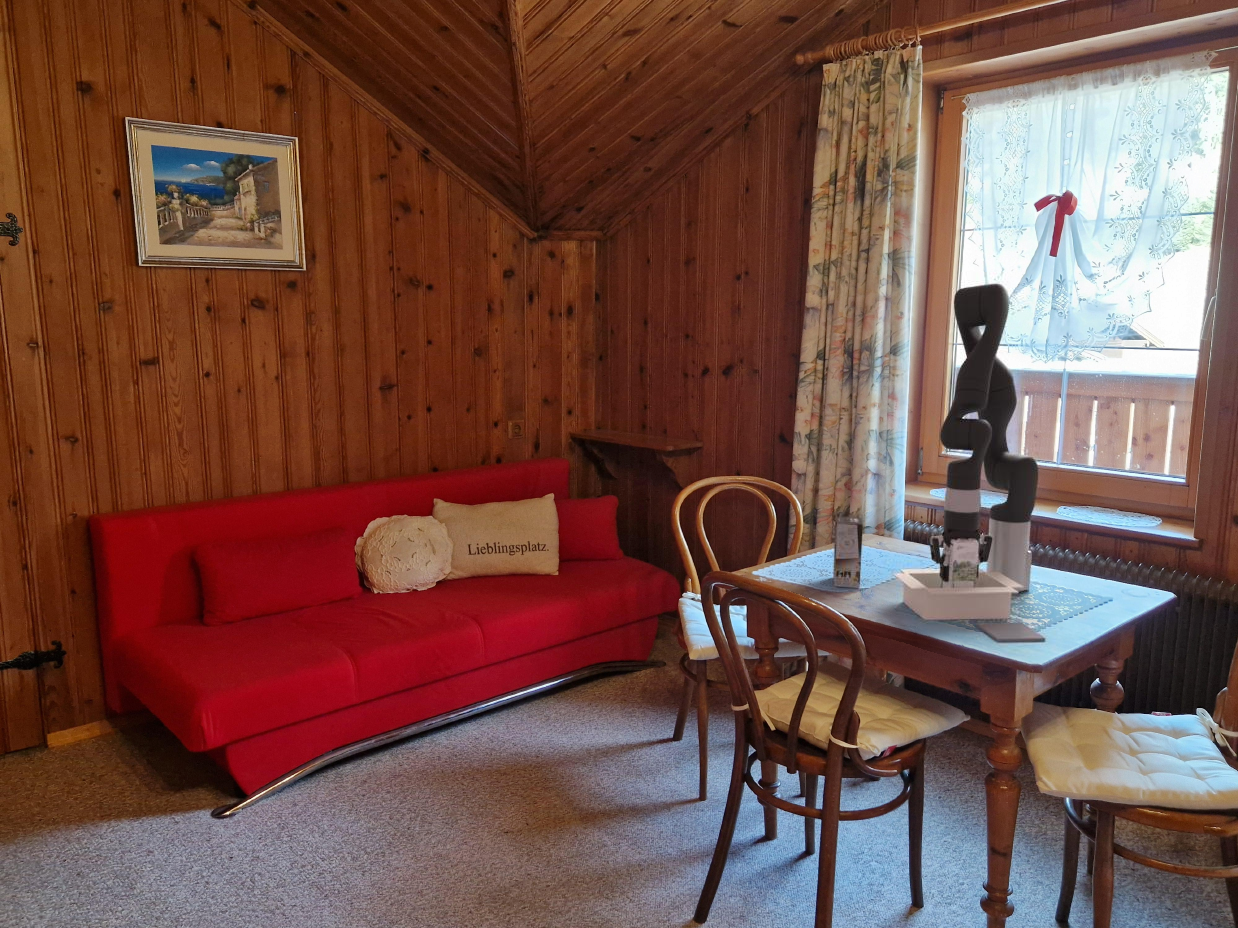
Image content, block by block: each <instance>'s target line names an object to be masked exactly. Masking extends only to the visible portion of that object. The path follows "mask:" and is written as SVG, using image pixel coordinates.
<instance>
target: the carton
mask: <svg viewBox="0 0 1238 928" xmlns="http://www.w3.org/2000/svg"><path fill="white" fill-rule="evenodd" d="M899 571H900V572H901V573H892V576H893V577H895V578H896V579H897V580H899V582H901V584H903V591H902V592H903V595H902V603H903V604H905V605H906V606H907V607H908V608H910V610H912V612H915V614H917V615H918V616H919V617H921V619H923V620H925V621H933V620H934V621H940V620H942V621H943V620H944V621H945V620H947V621H948V620H998V619H999V620H1000V619H1005V620H1006V619H1010V618H1011V609H1012V608H1011V607H1012V606H1011V605H1012V594H1019V592H1018V591H1016V590H1015V589H1013V588H1024V587H1023V586H1021V585H1020V584H1018V583H1016V582H1015V581H1013V580H1011V579H1009V578H1008V577H1006V576H1004V575H1003V574H1001V573H999V572H986V570H985V571H984V570H983V569H982V568H980V567H979V573H978V578H976V588H941V581H942V579H941V578H940V576H939V575H940V568H910V569H909V568H908V569H906V568H905V569H899Z"/></svg>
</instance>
